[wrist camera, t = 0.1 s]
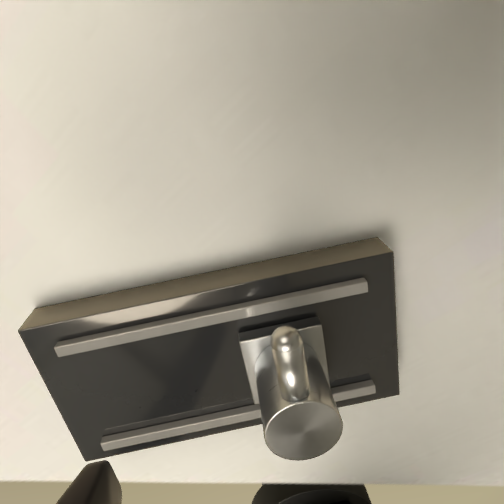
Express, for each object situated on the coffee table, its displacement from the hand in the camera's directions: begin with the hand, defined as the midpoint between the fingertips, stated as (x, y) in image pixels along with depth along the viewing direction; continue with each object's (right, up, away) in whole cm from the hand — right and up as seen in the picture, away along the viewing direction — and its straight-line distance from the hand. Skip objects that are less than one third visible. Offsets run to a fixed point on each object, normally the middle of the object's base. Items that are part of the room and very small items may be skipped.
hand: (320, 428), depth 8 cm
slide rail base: (-3, -1, +14) cm, 14 cm away
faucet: (0, 0, +11) cm, 11 cm away
